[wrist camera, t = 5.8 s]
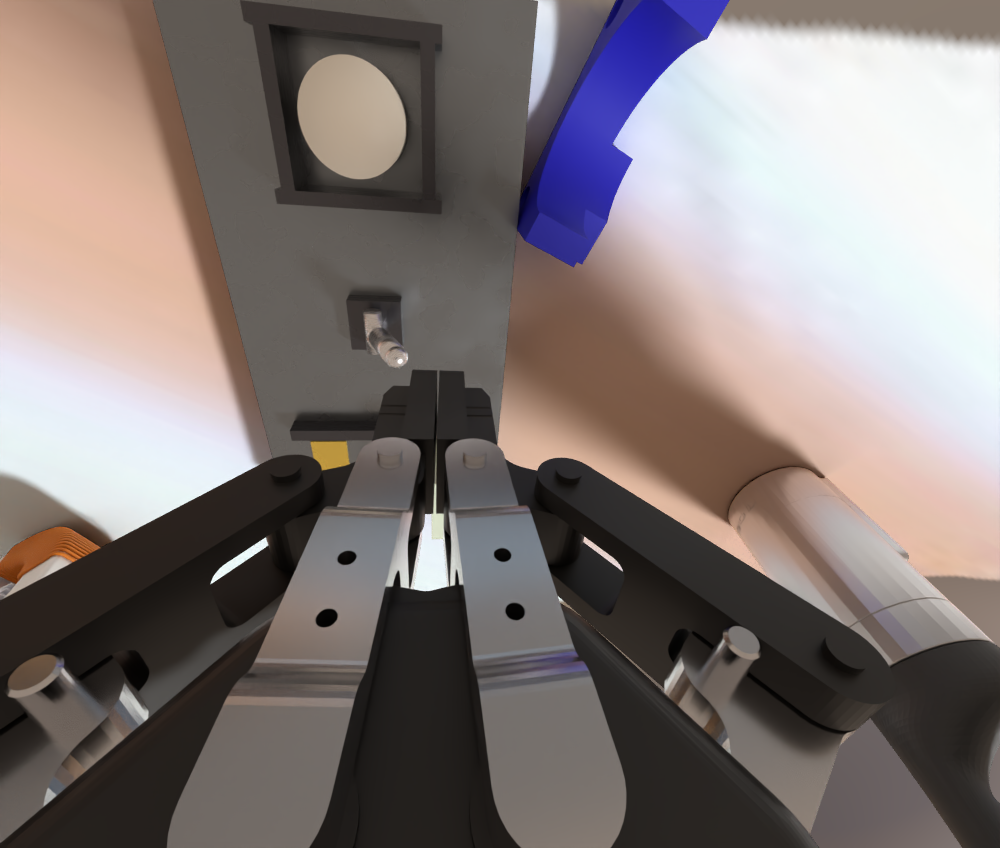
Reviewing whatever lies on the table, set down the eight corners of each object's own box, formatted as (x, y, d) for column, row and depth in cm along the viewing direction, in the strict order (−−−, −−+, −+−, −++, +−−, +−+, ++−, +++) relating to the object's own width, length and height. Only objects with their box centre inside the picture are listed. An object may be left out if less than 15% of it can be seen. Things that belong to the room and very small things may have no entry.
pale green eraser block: (454, 437, 32) (457, 483, 28) (453, 489, 35) (455, 538, 31) (432, 437, 32) (431, 484, 28) (432, 489, 35) (431, 539, 31)
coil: (-27, 561, 38) (-248, 772, 26) (110, 494, 35) (-61, 690, 23) (53, 602, 42) (-107, 803, 29) (181, 543, 39) (65, 735, 27)
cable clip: (569, 252, 29) (596, 279, 24) (509, 218, 28) (524, 240, 23) (690, 40, 24) (756, 20, 19) (624, -17, 22) (676, -55, 17)
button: (406, 66, 20) (402, 60, 18) (409, 176, 23) (406, 182, 21) (304, 55, 20) (288, 48, 18) (319, 170, 22) (306, 175, 20)
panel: (526, 13, 22) (549, -13, 18) (488, 475, 39) (495, 522, 34) (175, -31, 20) (99, -75, 16) (295, 478, 37) (275, 529, 32)
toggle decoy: (379, 307, 25) (410, 337, 22) (382, 346, 27) (412, 380, 24) (358, 309, 25) (387, 341, 22) (362, 349, 26) (390, 384, 23)
